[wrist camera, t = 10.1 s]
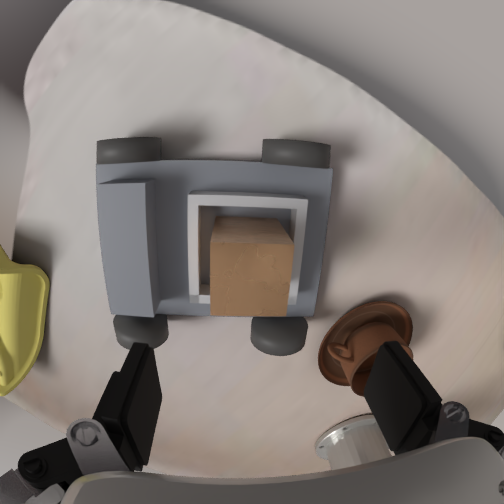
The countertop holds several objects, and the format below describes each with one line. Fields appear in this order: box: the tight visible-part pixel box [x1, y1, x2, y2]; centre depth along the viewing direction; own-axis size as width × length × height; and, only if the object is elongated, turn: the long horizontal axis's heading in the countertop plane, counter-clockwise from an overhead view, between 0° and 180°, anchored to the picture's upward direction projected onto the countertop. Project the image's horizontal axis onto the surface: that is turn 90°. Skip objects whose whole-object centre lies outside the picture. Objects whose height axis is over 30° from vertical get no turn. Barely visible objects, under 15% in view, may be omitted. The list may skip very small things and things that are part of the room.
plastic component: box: [0, 245, 50, 396], centre depth 25 cm, size 20×8×10 cm
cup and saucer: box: [318, 301, 413, 397], centre depth 28 cm, size 12×12×6 cm
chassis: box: [96, 137, 333, 356], centre depth 23 cm, size 20×18×5 cm
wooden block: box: [210, 216, 295, 316], centre depth 21 cm, size 5×5×7 cm
